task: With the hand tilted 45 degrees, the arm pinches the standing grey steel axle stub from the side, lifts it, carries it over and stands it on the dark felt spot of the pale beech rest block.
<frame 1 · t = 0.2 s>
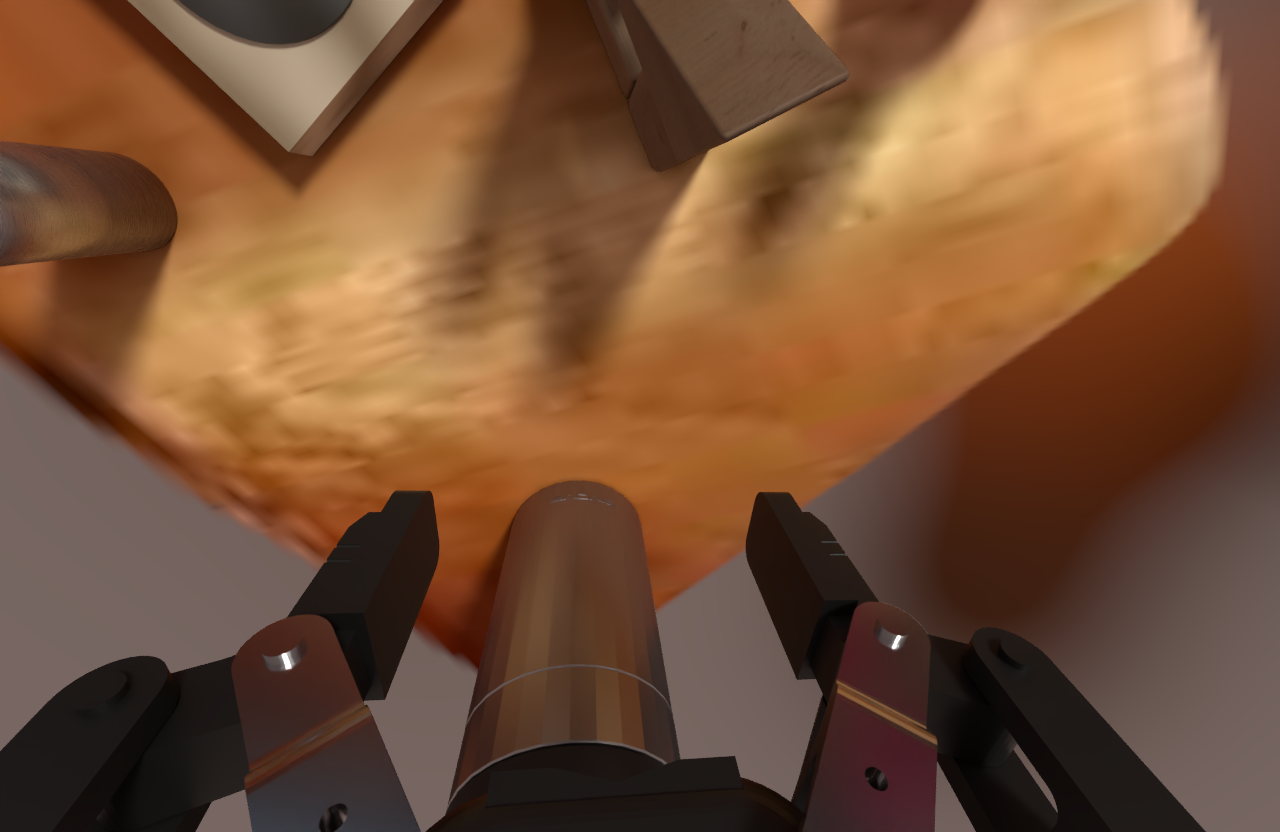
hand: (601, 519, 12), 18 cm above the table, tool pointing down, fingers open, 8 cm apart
wooden block: (642, 44, 23), on the table
axle: (125, 203, 23), on the table
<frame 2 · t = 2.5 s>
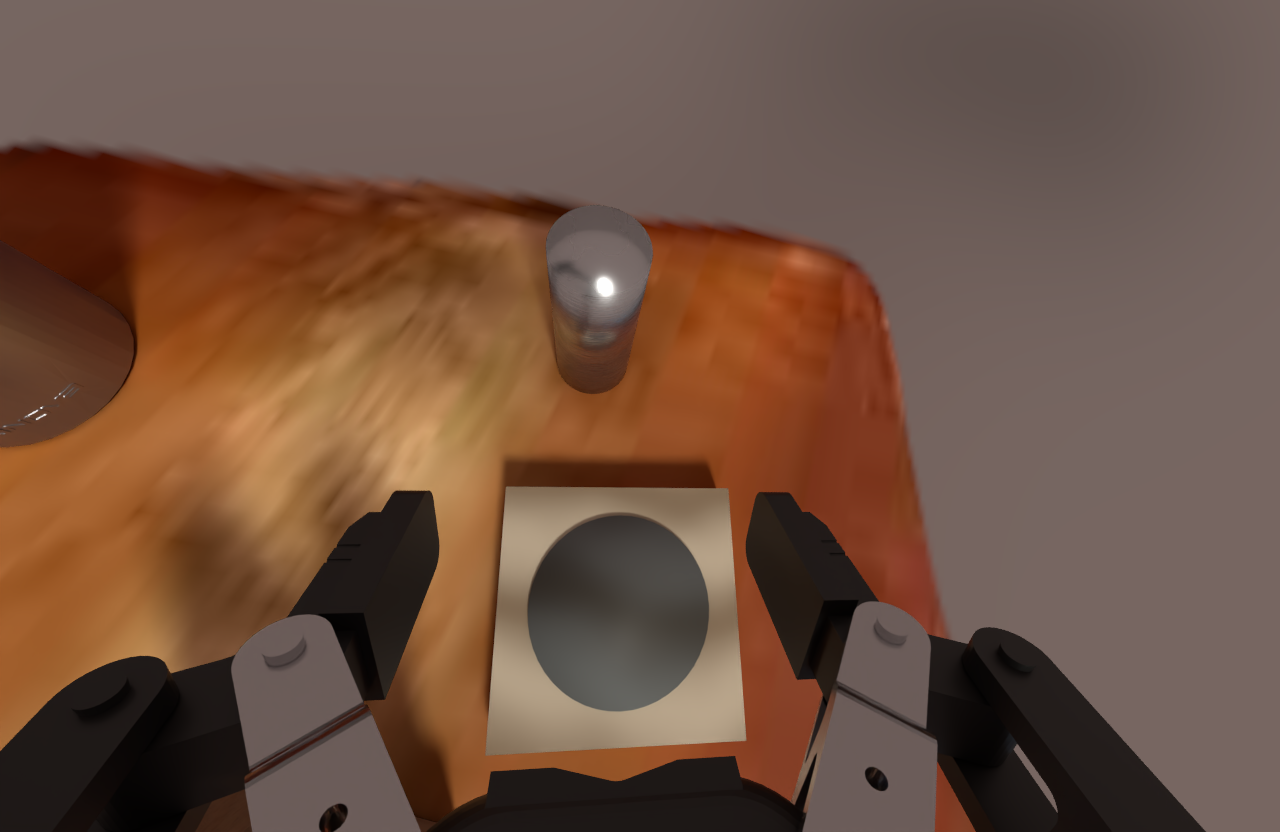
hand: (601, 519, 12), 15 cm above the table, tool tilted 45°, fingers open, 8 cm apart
axle: (592, 361, 30), on the table
rest block: (617, 604, 26), on the table
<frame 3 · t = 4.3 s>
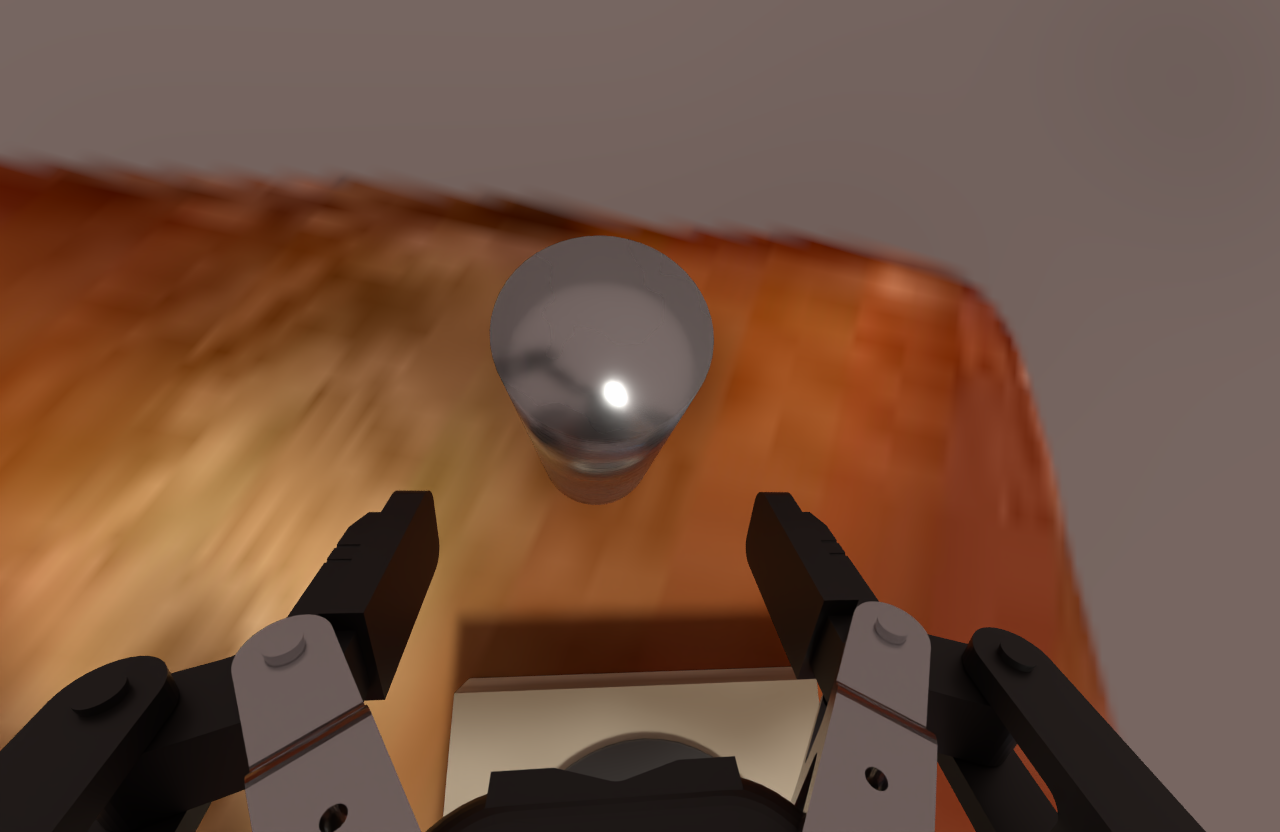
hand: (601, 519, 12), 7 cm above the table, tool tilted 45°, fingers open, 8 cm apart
axle: (596, 451, 20), on the table
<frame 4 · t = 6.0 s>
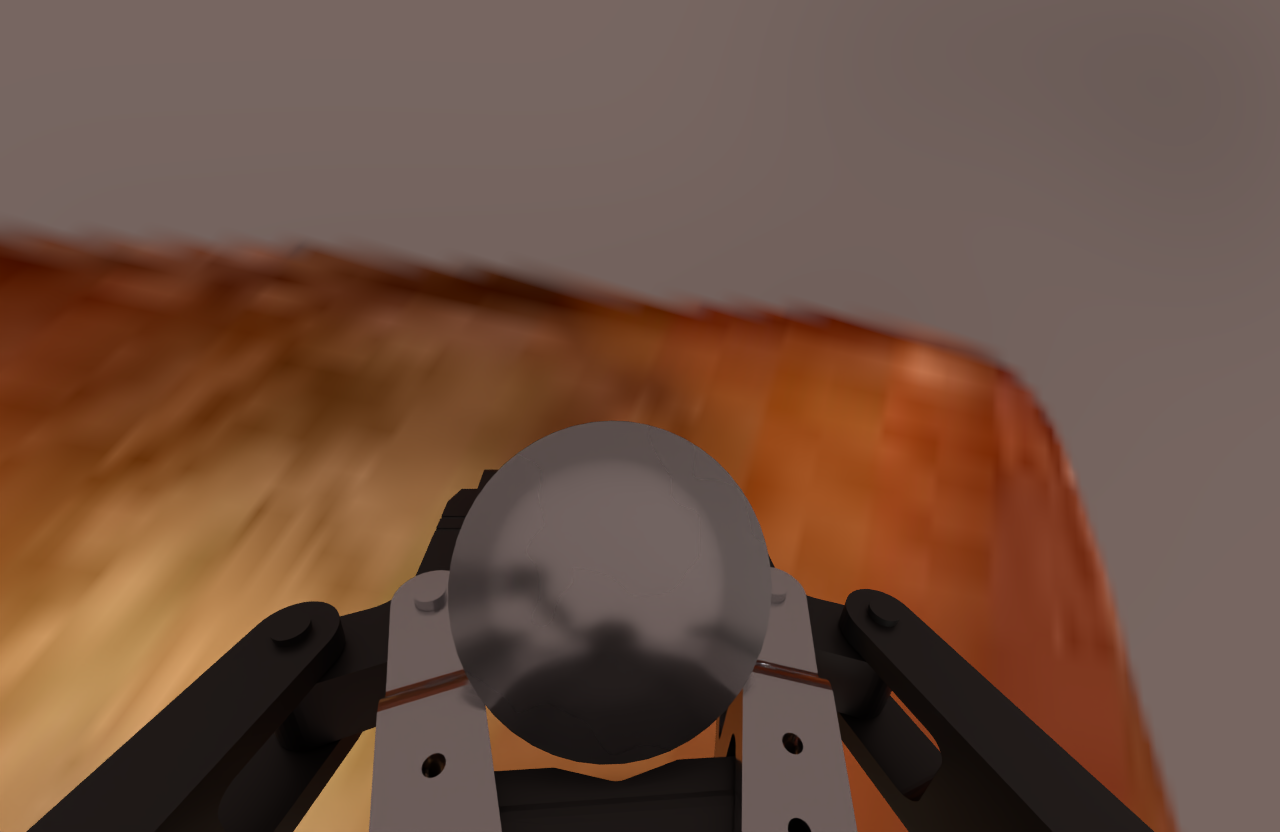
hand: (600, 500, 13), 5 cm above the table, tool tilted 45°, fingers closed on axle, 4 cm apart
axle: (592, 576, 17), on the table, touching gripper
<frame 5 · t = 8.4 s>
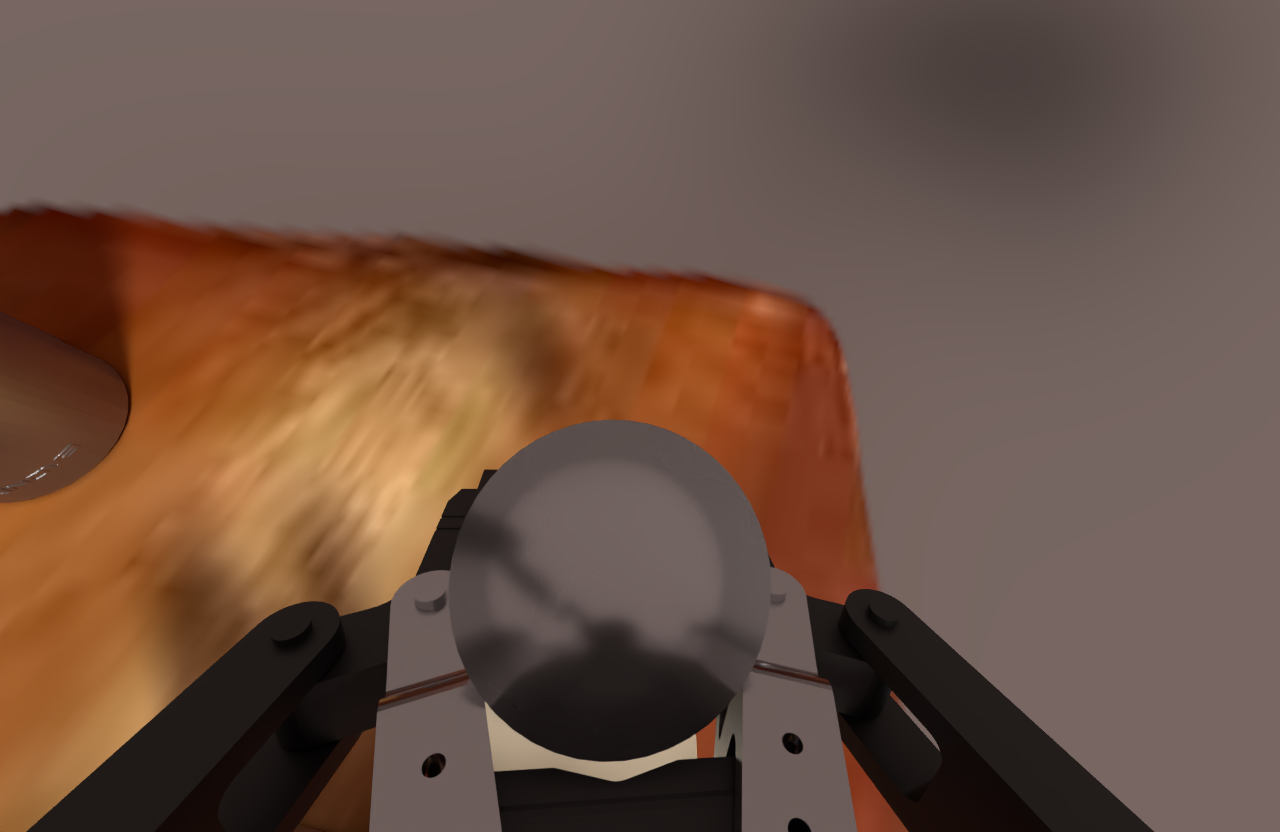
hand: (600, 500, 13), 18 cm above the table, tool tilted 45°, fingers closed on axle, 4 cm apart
axle: (591, 576, 17), point 12 cm above the table, touching gripper
rest block: (582, 645, 27), on the table
when the fingers open (8 cm above the table, at t = 11.0 s): axle stays where it is, resting on rest block.
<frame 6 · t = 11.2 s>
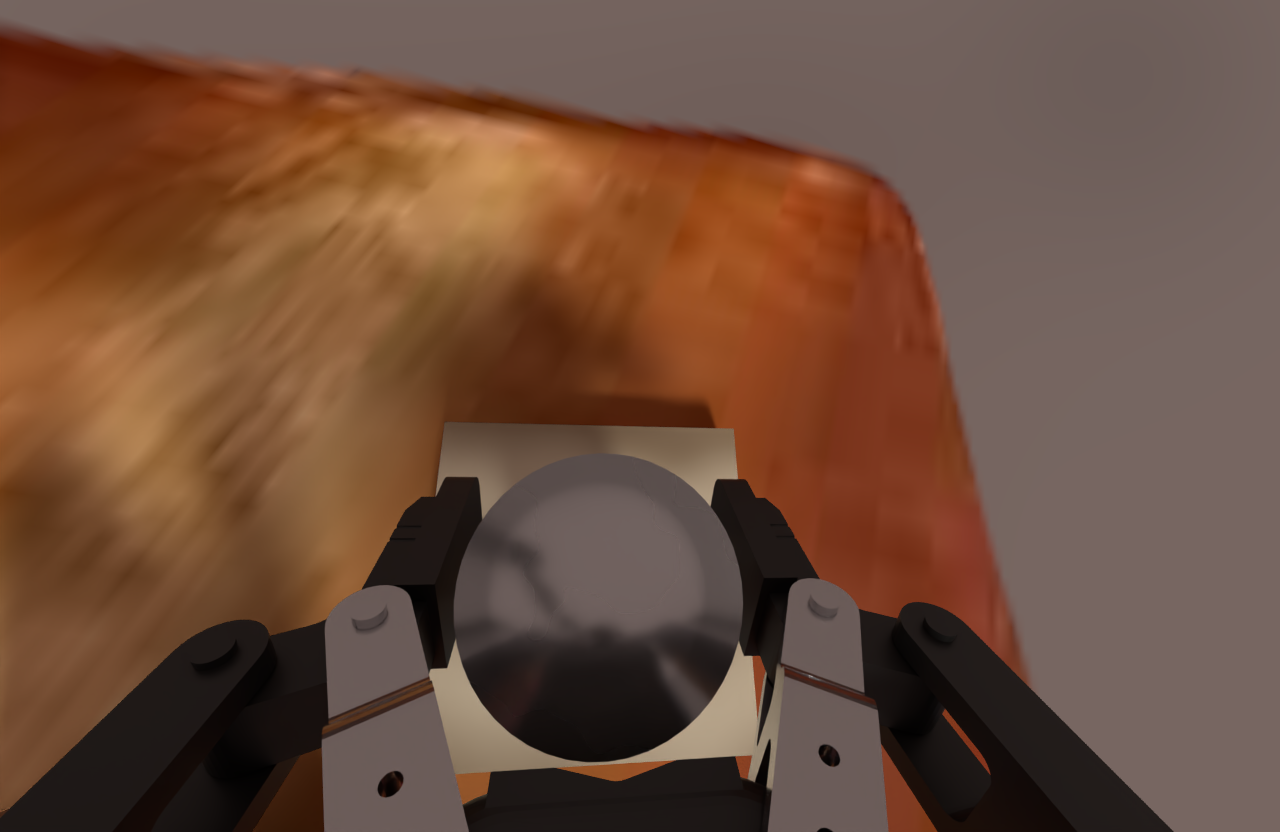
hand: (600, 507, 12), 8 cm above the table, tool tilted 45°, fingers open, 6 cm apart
axle: (589, 581, 18), point 2 cm above the table, touching rest block
rest block: (590, 577, 20), on the table
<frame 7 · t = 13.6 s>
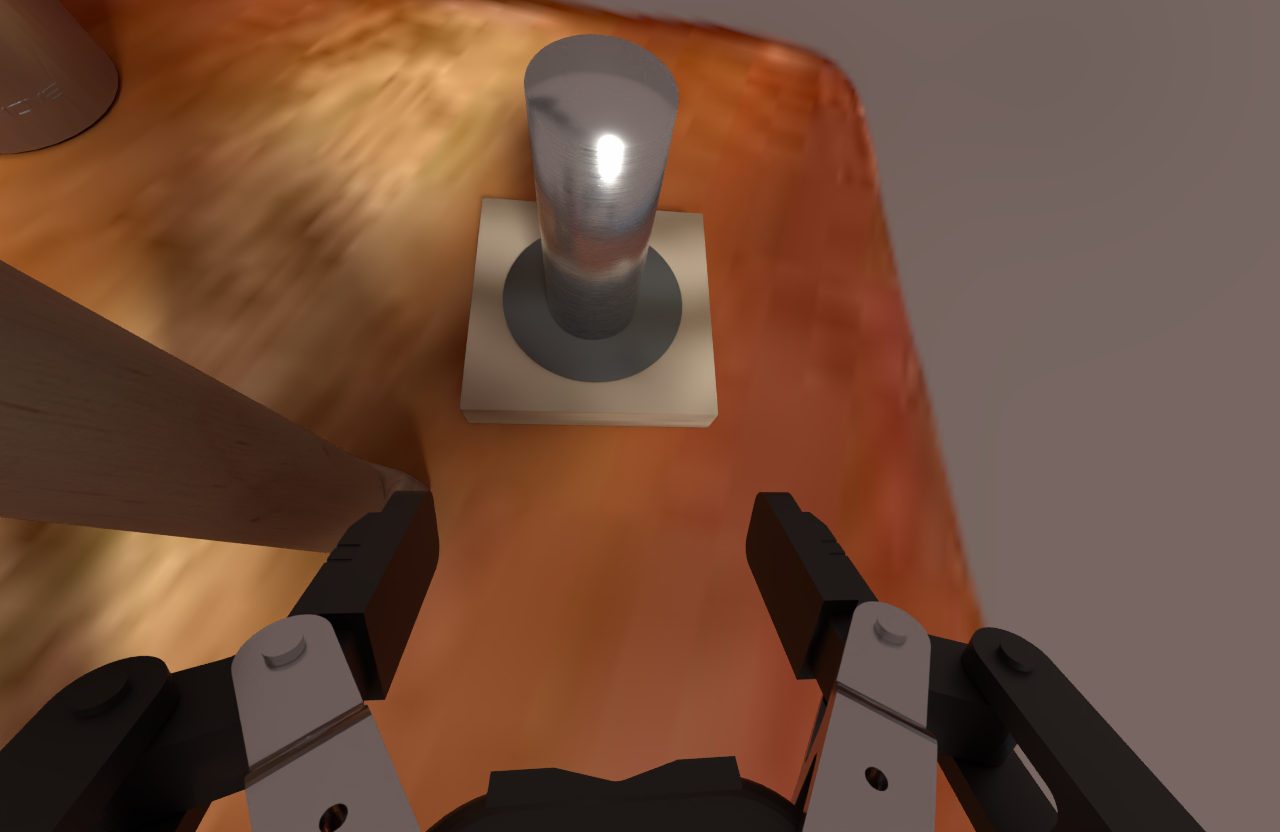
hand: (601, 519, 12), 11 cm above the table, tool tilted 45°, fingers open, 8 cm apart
wooden block: (305, 495, 22), on the table
axle: (592, 301, 24), point 2 cm above the table, touching rest block
rest block: (593, 320, 26), on the table
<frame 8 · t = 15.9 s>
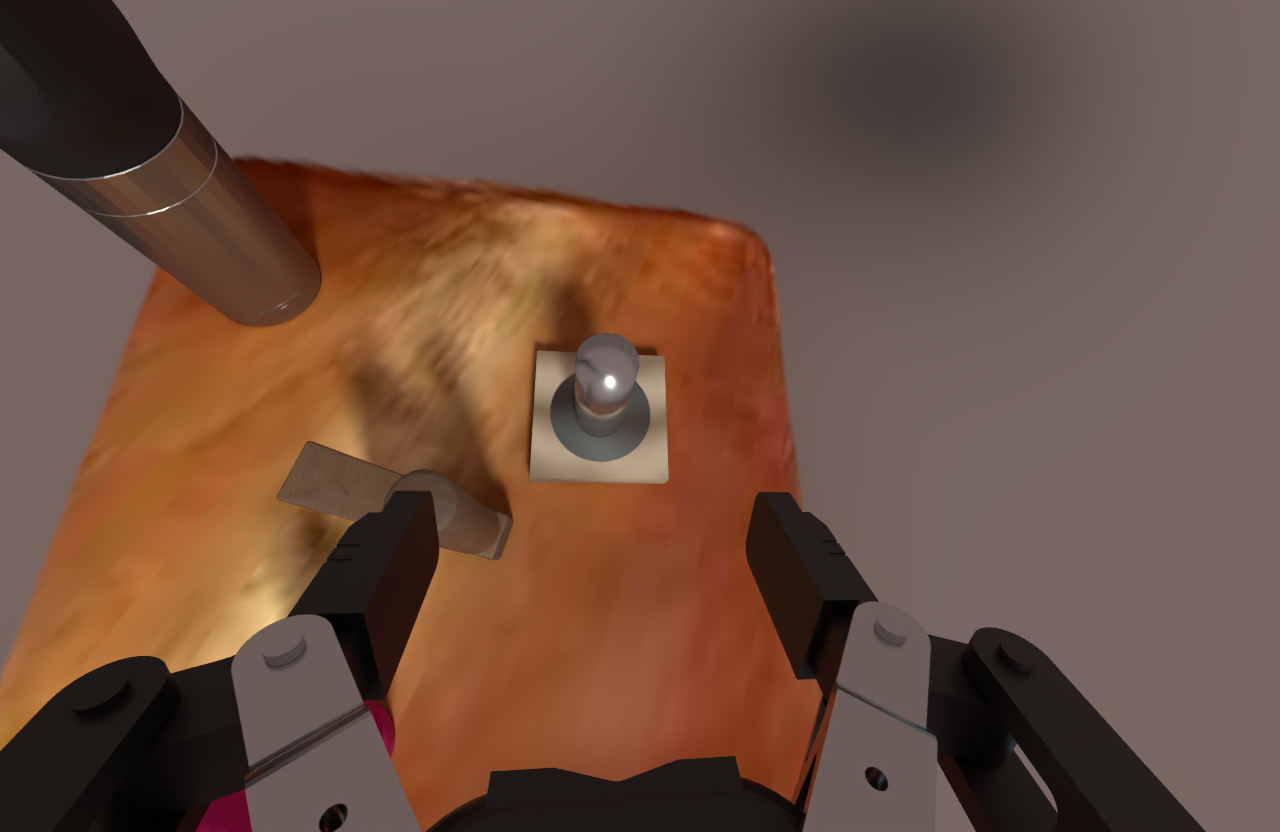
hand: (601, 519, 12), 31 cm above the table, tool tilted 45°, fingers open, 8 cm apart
wooden block: (446, 523, 41), on the table
pepper mill: (351, 744, 35), on the table
axle: (599, 414, 43), point 2 cm above the table, touching rest block
rest block: (600, 420, 45), on the table
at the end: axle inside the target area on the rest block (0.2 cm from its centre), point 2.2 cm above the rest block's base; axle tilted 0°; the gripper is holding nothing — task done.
